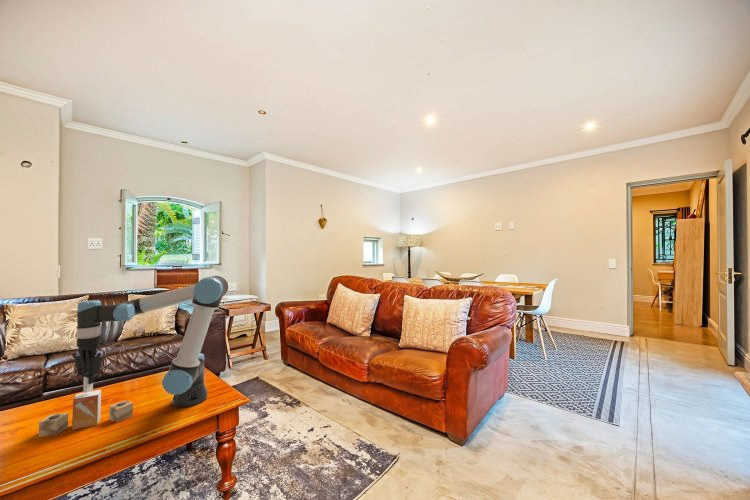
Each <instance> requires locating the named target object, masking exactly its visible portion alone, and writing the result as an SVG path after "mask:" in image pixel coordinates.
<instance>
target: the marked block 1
mask: <svg viewBox="0 0 750 500" xmlns="http://www.w3.org/2000/svg"><path fill="white" fill-rule="evenodd" d="M69 414H70V413H69V412H68V413H67V412H63V413H52V414H50V415H48V416H46V417H45V418H42V419H41V420H39V421H38V438H40V437H52V436H57V435H59V434H60V433H62V432H63V431H64V430H66V429H67V428H69Z"/></svg>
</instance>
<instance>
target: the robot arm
mask: <svg viewBox="0 0 750 500" xmlns="http://www.w3.org/2000/svg"><path fill="white" fill-rule="evenodd" d="M228 291H229V283H228V281H227V279H226V278H224V277H223V276H220V275H212V276H206V277H203V278H201V279H200V280H199V281H197V282H196V284H191V285H188V286H184V287H180V288H175V289H172V290H168V291H164V292H160V293H155V294H152V295H147V296H143V297H141V298H135V299H130V300H128V301H123V302H119V303H116V304H102V302H101V300H100V299H97V300H96V299H93V300H91V299H90V300H83V301H80V302H79V303H78V304H77V311H76V318H77V319H76V320H77V322H76V323H77V326H76V347H77V351H76V352H72V354H71V355H72V357H73V359H74V363H75V368H76V369H75V370H76V374H77V376H81V377H82V384H83V389H82V390H83V392H82V393H85V392H90V391H94V382H95V376H96V375H97V374H99V373H100V370H101V366H102V362H103V358H104V356H105V354H106V352H105V351H101V350H100V347H99V345H100V344H101V337H102V336H101V331H102V330H101V323H110V322H120V323H121V322H127V321H130V320H132V319H133V318H134V316H138V315H142V314H145V313H148V312H154V311H156V310H160V309H164V308H169V307H172V306H176V305H180V304H184V303H188V302H191V303H192V306H193V309H192V313H191V314H190V315H191V316H190V317H189V318H190V319H189V321H188V323H187V327H186V331H185V333H184V337H183V339H182V341H181V342H182V343H181V345H180V349H179V351H178V354H177V356H176V357H174V358H172V360H171V363H170V366H169V368H168V371H167V372H166V374H164V377H163V378H162V381H161V384H162V388H163V390H164V392H166V393H168V394H170V395H173V398H172V406H174V407H175V408H187V407H192V405H193V406H196V405H198V404H197V403H199V404H201V403H203V402H205V401H206V400H207V399H206V398H208V397H207V396H208V390H207V387H206V384H205V354H204V353H201V352H202V349H203V346H204V342H205V339H206V336H207V333H208V329H209V327H210V324H211V320H212V318H213V315H214V311H215V310H217V309H220V304H221V301H222V298H223V297H224V296H225V295H226V294H227V292H228ZM205 399H206V400H205ZM202 401H203V402H202ZM200 402H201V403H200ZM195 404H196V405H195Z"/></svg>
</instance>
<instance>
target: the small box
mask: <svg viewBox="0 0 750 500" xmlns="http://www.w3.org/2000/svg"><path fill="white" fill-rule="evenodd" d="M101 402H102V389H97V390H91V391H89V392H81V393H76V395H75V396H74V397H73V400H72V418H71V420H72V421H71V431H74V430H79V429H83V428H88V427H92V426H93V427H94V426H97V425H98V424H99V422H100V420H101V414H102V413H101V411H102V410H101V409H102V403H101Z"/></svg>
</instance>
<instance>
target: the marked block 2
mask: <svg viewBox="0 0 750 500" xmlns="http://www.w3.org/2000/svg"><path fill="white" fill-rule="evenodd" d="M108 408H109V409H108V410H109V412H108V413H109V415H108V416H109V418H108V419H109V421H112V422H114V423H119V422H122V421H124V420H127V419H129V418H131V417H133V411H134V410H133V408H134V403H133V402H132V401H128V400H122V401H120V402H116V403H115V404H112V405H110V406H109V407H108Z"/></svg>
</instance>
